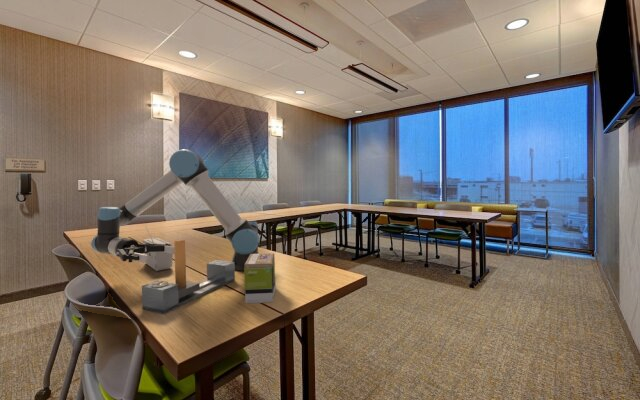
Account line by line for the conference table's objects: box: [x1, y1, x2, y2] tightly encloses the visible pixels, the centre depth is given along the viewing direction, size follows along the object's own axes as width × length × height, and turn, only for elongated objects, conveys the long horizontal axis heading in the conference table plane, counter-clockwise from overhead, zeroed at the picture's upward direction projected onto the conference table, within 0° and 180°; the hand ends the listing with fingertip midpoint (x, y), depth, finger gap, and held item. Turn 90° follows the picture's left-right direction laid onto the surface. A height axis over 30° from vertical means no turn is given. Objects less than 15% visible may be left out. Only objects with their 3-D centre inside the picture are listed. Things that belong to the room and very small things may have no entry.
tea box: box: [243, 252, 276, 304], centre depth 112 cm, size 15×10×15 cm, turn 5°
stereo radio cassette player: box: [142, 227, 173, 272], centre depth 150 cm, size 21×8×20 cm, turn 45°
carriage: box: [173, 239, 200, 298], centre depth 109 cm, size 10×8×19 cm
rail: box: [141, 259, 236, 315], centre depth 115 cm, size 36×10×9 cm, turn 158°
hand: (163, 254), depth 113 cm, fingers open, 13 cm apart
